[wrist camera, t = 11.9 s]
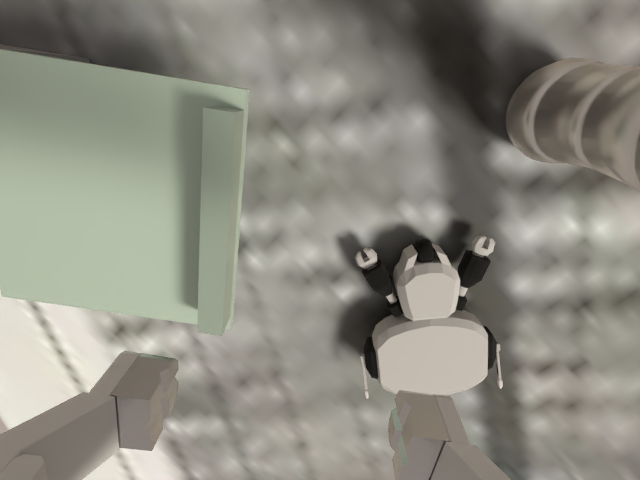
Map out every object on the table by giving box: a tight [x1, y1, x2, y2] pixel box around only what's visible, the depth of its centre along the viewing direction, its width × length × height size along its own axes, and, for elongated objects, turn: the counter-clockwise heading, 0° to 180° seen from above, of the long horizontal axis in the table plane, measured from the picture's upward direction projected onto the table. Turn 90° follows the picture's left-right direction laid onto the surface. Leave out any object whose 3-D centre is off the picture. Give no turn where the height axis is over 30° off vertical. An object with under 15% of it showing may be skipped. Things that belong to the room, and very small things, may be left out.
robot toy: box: [355, 235, 503, 399], centre depth 33 cm, size 12×4×15 cm
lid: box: [0, 49, 250, 336], centre depth 21 cm, size 15×15×3 cm
